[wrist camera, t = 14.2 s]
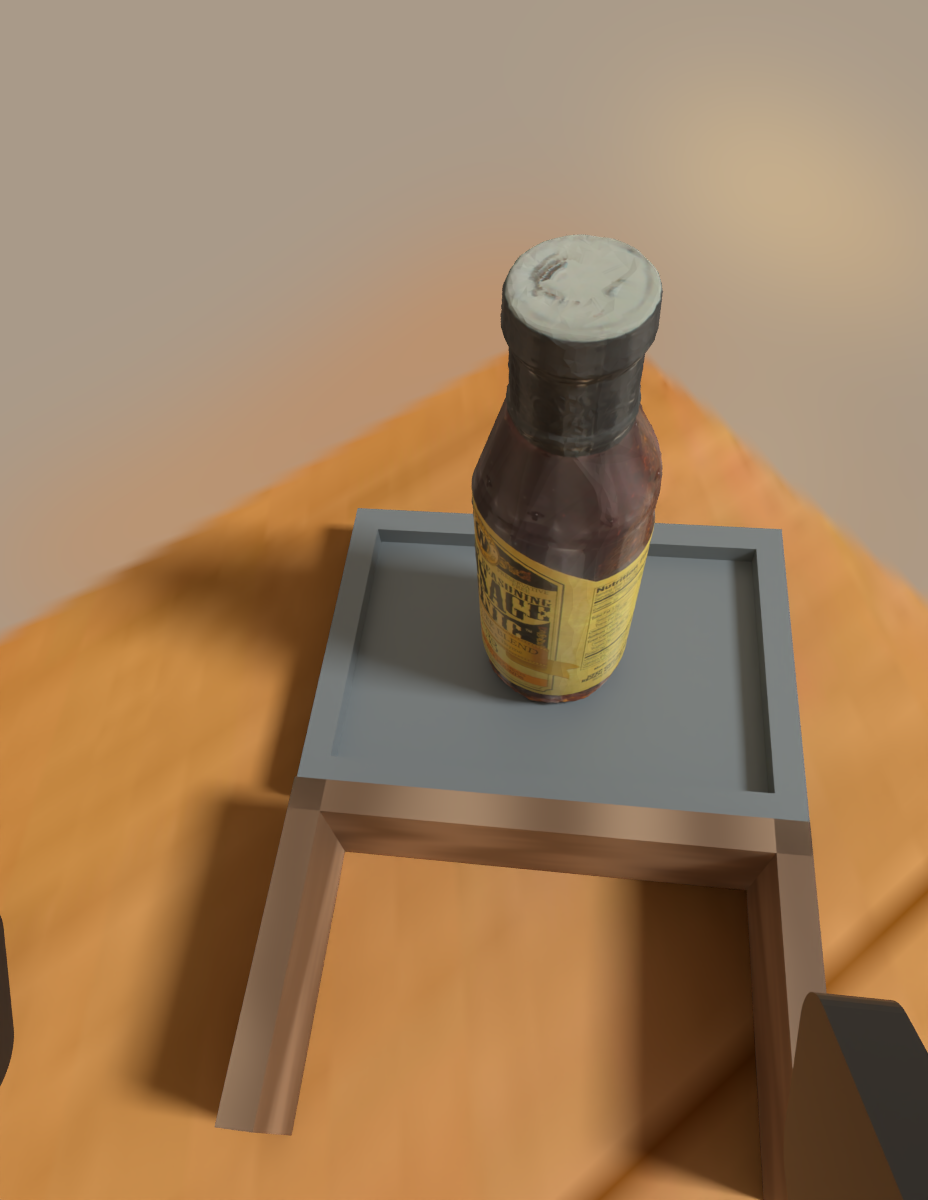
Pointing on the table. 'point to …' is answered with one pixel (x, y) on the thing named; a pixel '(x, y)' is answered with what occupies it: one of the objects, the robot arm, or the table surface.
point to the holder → (529, 841)
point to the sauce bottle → (568, 468)
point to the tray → (576, 728)
